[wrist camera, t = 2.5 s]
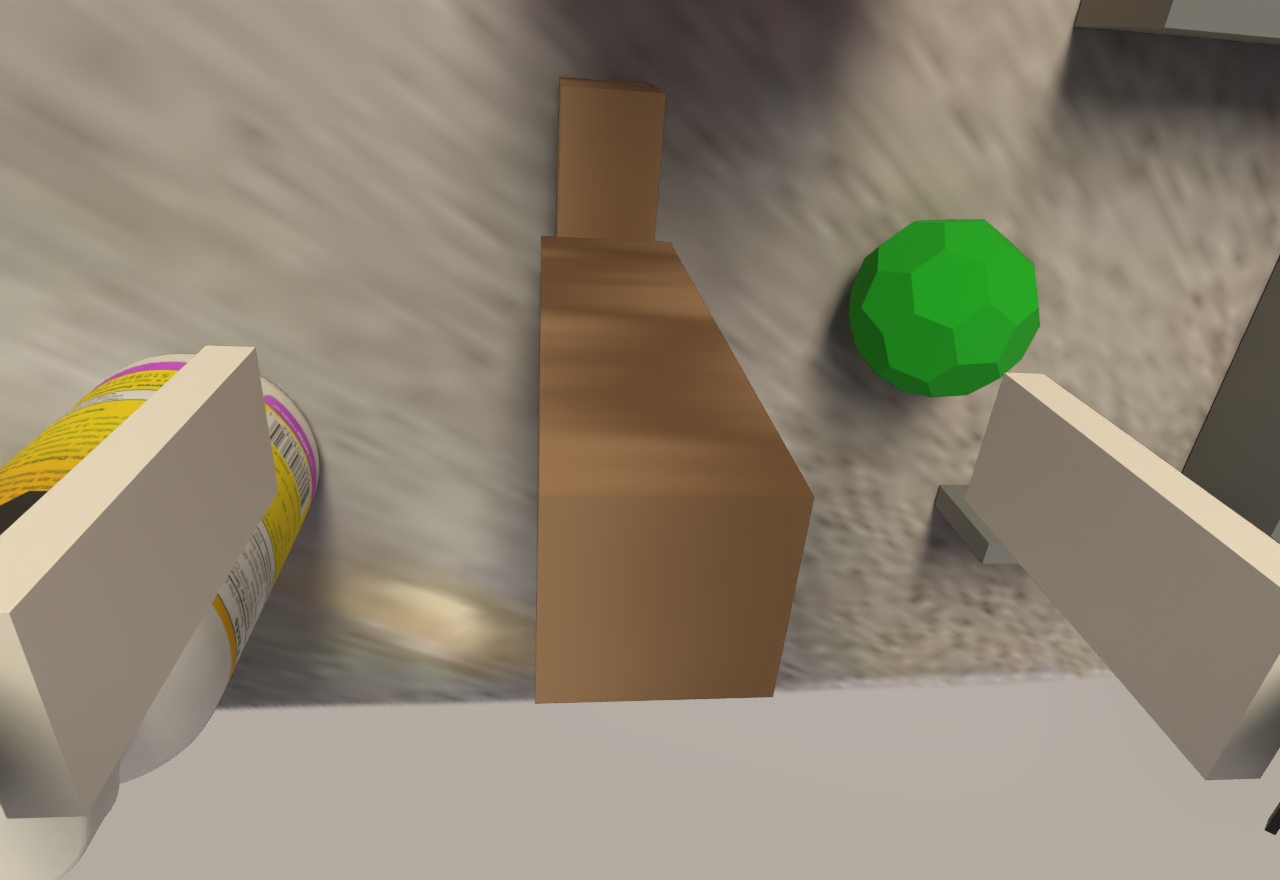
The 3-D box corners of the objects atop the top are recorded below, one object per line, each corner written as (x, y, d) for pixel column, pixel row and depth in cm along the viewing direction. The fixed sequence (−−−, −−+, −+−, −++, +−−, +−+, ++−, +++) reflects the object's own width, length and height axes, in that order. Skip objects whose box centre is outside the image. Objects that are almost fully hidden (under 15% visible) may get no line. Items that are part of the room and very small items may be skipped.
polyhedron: (795, 304, 24) (847, 364, 20) (904, 165, 22) (987, 197, 18) (909, 385, 26) (979, 455, 22) (1018, 261, 24) (1117, 311, 20)
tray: (934, 504, 28) (990, 573, 25) (1084, -8, 21) (1193, -14, 17) (1186, 505, 29) (1273, 571, 26) (1411, 23, 22) (1576, 24, 19)
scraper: (538, 421, 25) (532, 867, 12) (543, 75, 20) (544, 180, 7) (638, 423, 25) (740, 856, 12) (665, 85, 21) (875, 200, 8)
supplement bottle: (59, 474, 24) (-368, 874, 13) (143, 302, 22) (-278, 601, 11) (270, 568, 26) (68, 974, 15) (365, 421, 24) (211, 767, 13)
